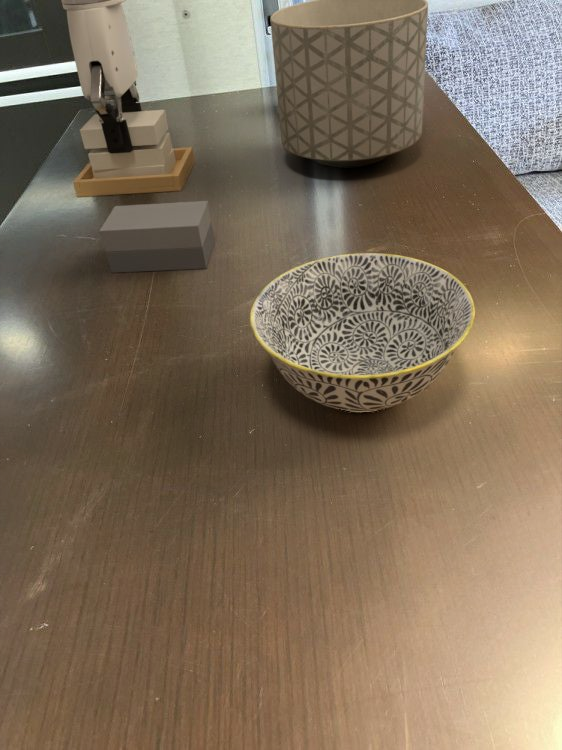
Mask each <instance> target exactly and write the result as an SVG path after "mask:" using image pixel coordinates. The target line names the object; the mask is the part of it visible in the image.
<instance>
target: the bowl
mask: <svg viewBox="0 0 562 750" xmlns="http://www.w3.org/2000/svg"><path fill="white" fill-rule="evenodd" d="M249 313H250V315H249V323H250V327H251V331H252V334H253V335H254V337H255V339H256V340H257V342H258V344H260V346H261V347H262V348H263V349H264V350H265V351H266V353H267V354H268V355H269V357H270V358H271V360H272V362H273V363H274V366H275V367H276V368H277V371H279V373H280V374H281V375H282V377H283V378H284V379H285V380H286V381H287V382H288V383H289V385H290V386H291V387H292V388H294V389H295V390H296V391H298V392H299V393H300V394H301V395H303V396H305V397H306V398H307V399H310V400H311V401H313V402H315V403H318V404H320V405H323V406H324V407H328V408H332V409H336V410H339V409H341V410H340V411H342V410H347V411H374V410H380V409H383V410H386V409H389V408H392V407H395V406H398V405H401V404H403V403H406V402H407V401H410V400H411V399H413V398H415V397H416V396H418V395H419V394H421V393H422V392H424V391H425V390H426V389H428V388H429V387H430V386H431V385H432V384H433V383H434V381H436V380H437V379H438V378H439V376H440V375H441V373H442V372H443V371H444V369H445V368H446V366H447V365H448V363H449V362H450V360H451V358H452V357H453V355H454V353H455V351H457V348H458V347H459V346H460V345H461V344H462V343H463V342H464V340H465V339H466V338H467V337H468V334H469V333H470V331H471V330H472V327H473V325H474V322H475V316H476V315H475V314H476V308H475V303H474V300H473V297H472V294H471V293H470V291H469V290H468V288H467V286H466V285H465V284H464V283H463V282H461V281H460V280H459V279H458V278H457V277H456V276H455V275H453V274H452V273H450V272H449V271H447V270H445V269H443V268H441V267H440V266H437V265H435V264H433V263H430V262H427V261H424V260H422V259H418V258H415V257H410V256H404V255H398V254H391V253H382V252H381V253H379V252H363V253H347V254H340V255H339V254H338V255H334V256H328V257H323V258H319V259H316V260H312V261H309V262H306V263H303V264H300V265H297V266H295V267H293V268H291V269H289V270H287V271H286V272H283V273H282V274H280V275H278V276H277V277H275V278H274V279H273V280H271V281H269V282H268V284H267V285H265V286H264V287H263V288H262V289H261V290H260V292H259V293H258V295H257V296H256V298H255V299H254V302H253V303H252V306H251V309H250V312H249ZM385 408H386V409H385Z"/></svg>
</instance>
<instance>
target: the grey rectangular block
mask: <svg viewBox="0 0 562 750" xmlns="http://www.w3.org/2000/svg"><path fill="white" fill-rule="evenodd" d="M209 205H210V204H209V201H208V200H198V201H197V200H196V201H179V202H178V201H177V202H164V203H145V204H128V205H115V206H114V207H113V208H112V210H111V212H110V213H109V214H108V216H107V218H106V220H105V221H104V222H103V224H102V226H101V227H100V229H99V231H98V233H99V236H100V239H101V243H102V246H103V249H104V252H105V255H106V259H107V262H108V265H109V269H110V272H111V274H116V273H117V274H118V273H139V272H162V271H163V272H164V271H183V270H185V271H187V270H206V269H207V268H208V265H209V262H210V260H211V259H210V258H211V256H212V253H213V249H214V247H215V243H216V240H215V235H214V234H215V233H214V228H213V223H212V218H211V217H212V216H211V212H210V211H211V210H210V206H209Z"/></svg>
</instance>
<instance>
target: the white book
mask: <svg viewBox="0 0 562 750" xmlns="http://www.w3.org/2000/svg"><path fill="white" fill-rule="evenodd" d="M122 116H123V120H126V122H127V126H128V130H129V134H130V139H131V143H132V146H143V145H158V144H159V142H160V141H161V139H162V138H163V136H164V134H165V133H166V132H168V130H169V123H168V118H167V113H166V110H165V109H156V110H155V109H154V110H142V111H139V112H124V113H122ZM79 133H80V136H81V140H82V143H83V147H84V150H92V149H95V148H107V144H106V141H105V137H104V133H103V129H102V125H101V123H100V121H99V116H98V114H97V113H96V114H94V115H92V117H90V119H88V121H86V123H85V124H84V125H83V126H82V127H81V128H80V129H79Z"/></svg>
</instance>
